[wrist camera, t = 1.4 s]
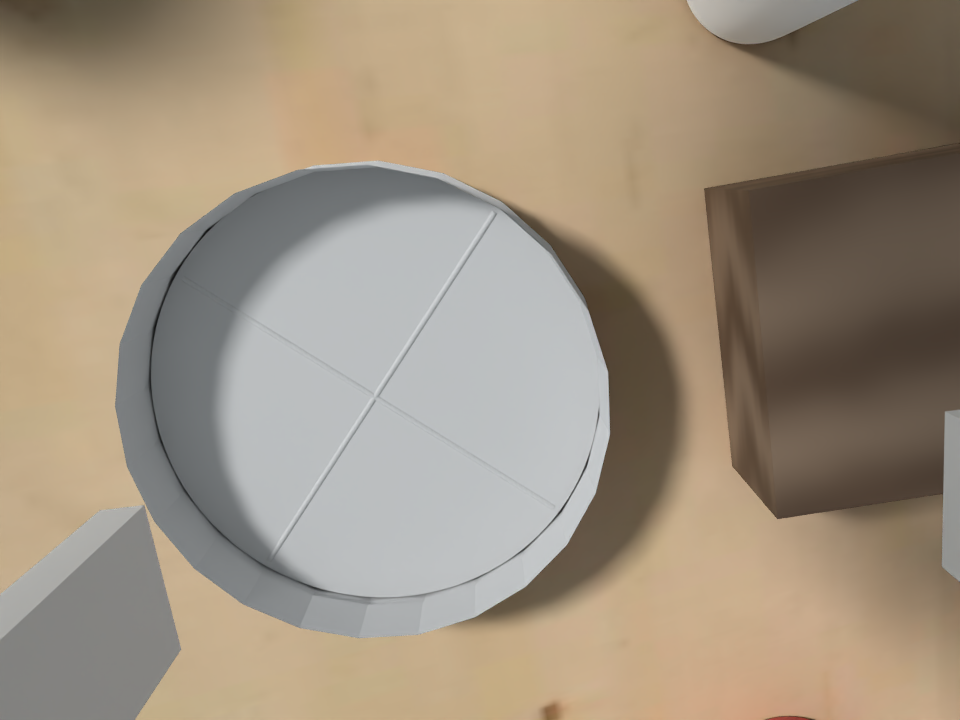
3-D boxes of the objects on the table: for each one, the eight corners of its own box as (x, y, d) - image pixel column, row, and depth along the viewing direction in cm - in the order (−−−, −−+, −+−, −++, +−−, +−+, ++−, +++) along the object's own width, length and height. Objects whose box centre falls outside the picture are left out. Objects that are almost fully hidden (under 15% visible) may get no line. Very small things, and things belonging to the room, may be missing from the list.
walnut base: (704, 188, 34) (749, 190, 28) (1011, 134, 33) (1122, 124, 28) (732, 466, 37) (777, 519, 32) (1012, 421, 37) (1111, 467, 31)
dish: (298, 64, 33) (266, 44, 29) (688, 326, 36) (719, 349, 31) (85, 447, 38) (26, 487, 33) (445, 655, 41) (439, 719, 36)
